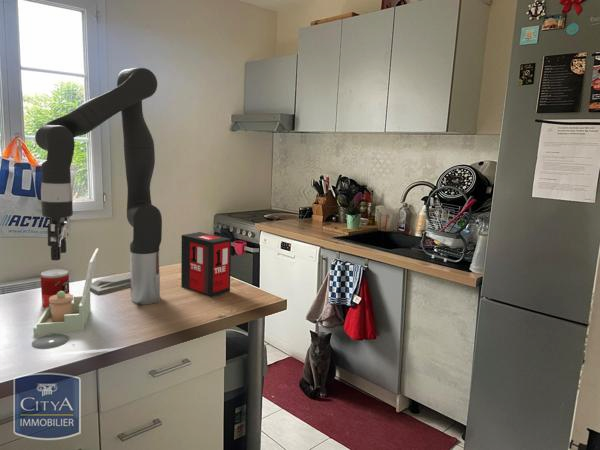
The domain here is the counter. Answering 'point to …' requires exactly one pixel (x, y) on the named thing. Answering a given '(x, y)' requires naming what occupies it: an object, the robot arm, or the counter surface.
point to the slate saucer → (50, 341)
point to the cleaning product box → (206, 263)
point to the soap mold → (111, 284)
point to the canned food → (53, 284)
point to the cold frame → (65, 318)
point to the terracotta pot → (60, 306)
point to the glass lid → (89, 275)
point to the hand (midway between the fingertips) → (59, 256)
